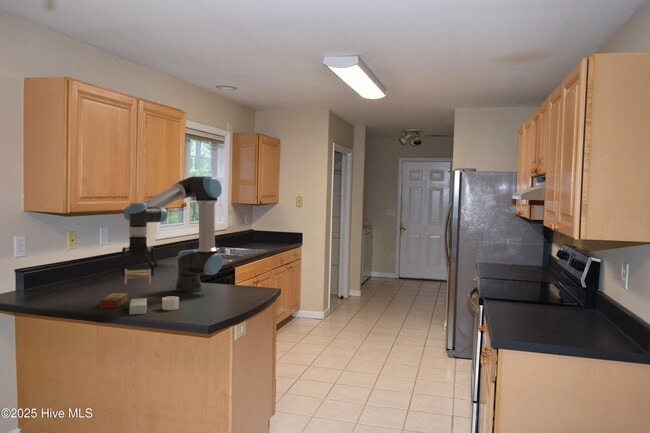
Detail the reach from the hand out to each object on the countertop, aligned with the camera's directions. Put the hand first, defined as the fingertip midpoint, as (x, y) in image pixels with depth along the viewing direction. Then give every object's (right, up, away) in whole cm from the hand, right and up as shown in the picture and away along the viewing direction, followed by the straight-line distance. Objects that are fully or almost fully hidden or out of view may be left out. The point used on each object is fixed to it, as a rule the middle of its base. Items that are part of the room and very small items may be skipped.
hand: (138, 282), depth 233 cm
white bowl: (+14, -13, +5) cm, 20 cm away
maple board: (0, +3, 0) cm, 3 cm away
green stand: (0, -13, +1) cm, 13 cm away
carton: (-17, -13, +13) cm, 25 cm away
